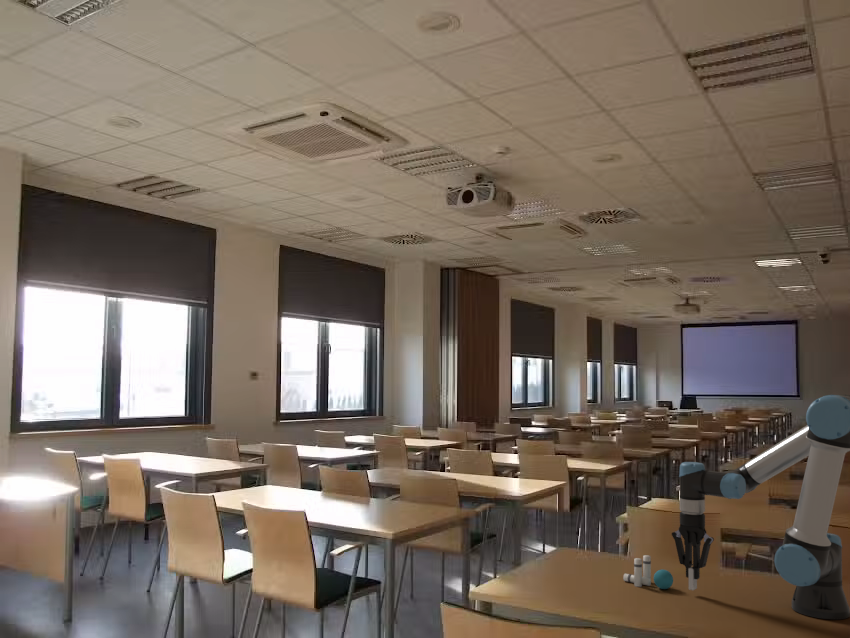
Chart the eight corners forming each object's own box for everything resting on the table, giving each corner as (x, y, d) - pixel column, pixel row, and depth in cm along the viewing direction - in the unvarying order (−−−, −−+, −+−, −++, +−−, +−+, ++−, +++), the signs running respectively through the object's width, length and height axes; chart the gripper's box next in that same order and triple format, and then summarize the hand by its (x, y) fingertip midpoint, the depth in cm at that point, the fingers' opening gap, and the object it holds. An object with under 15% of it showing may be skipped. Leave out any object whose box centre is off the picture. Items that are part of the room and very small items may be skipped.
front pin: (649, 576, 247) (625, 571, 252) (647, 582, 245) (622, 577, 250) (651, 581, 248) (627, 576, 253) (649, 587, 246) (624, 582, 251)
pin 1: (643, 586, 246) (643, 559, 246) (637, 587, 244) (637, 560, 245) (638, 584, 248) (638, 557, 248) (632, 585, 247) (632, 558, 247)
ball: (652, 577, 248) (665, 592, 245) (647, 578, 243) (661, 593, 240) (665, 565, 247) (678, 580, 244) (661, 565, 242) (675, 581, 239)
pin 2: (652, 582, 250) (652, 556, 250) (646, 583, 249) (646, 557, 249) (647, 580, 252) (647, 554, 253) (641, 581, 251) (641, 555, 252)
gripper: (717, 513, 236) (718, 591, 235) (677, 508, 245) (678, 582, 244) (707, 516, 231) (708, 596, 229) (667, 510, 240) (667, 587, 238)
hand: (692, 588), depth 237 cm, fingers closed
